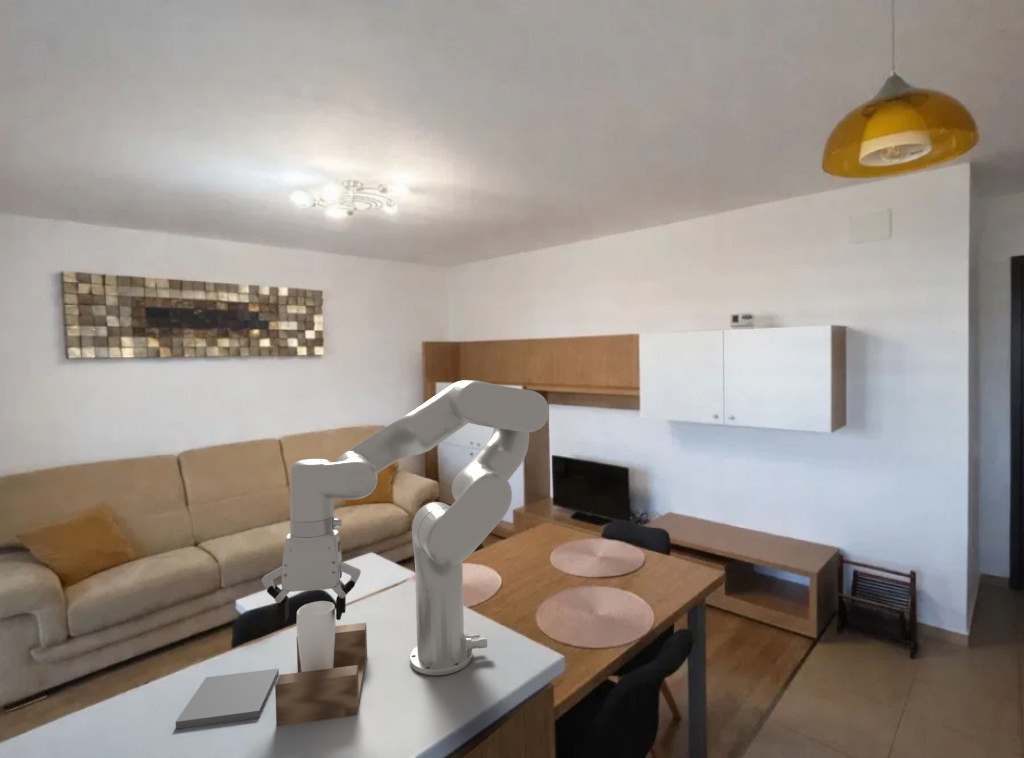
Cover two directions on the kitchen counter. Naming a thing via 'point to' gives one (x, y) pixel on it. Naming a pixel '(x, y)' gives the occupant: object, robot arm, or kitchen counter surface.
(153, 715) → the kitchen counter surface
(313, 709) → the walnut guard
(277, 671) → the slate board
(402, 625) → the kitchen counter surface
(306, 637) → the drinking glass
